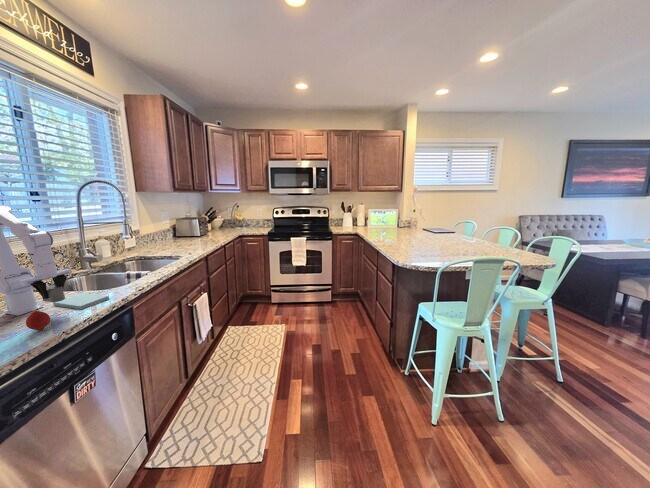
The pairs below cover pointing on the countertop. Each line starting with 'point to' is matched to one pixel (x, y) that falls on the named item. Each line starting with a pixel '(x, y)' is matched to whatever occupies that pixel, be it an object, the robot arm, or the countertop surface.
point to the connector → (54, 294)
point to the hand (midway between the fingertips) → (53, 296)
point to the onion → (37, 320)
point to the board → (81, 300)
